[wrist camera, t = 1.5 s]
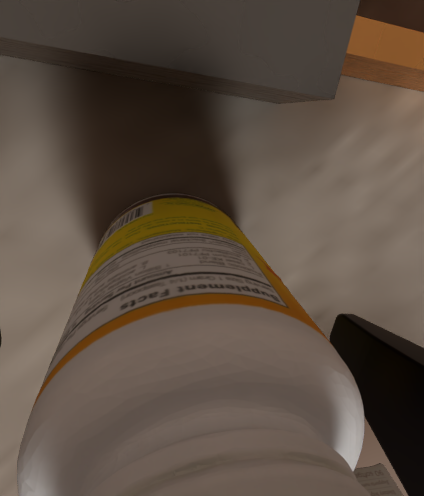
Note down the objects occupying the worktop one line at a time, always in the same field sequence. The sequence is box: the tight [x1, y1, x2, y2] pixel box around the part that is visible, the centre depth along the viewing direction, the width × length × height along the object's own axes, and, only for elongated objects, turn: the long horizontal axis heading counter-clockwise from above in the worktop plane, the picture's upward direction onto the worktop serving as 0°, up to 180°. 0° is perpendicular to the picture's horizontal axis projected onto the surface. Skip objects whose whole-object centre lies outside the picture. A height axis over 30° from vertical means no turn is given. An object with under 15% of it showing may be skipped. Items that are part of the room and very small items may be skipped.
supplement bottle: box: [17, 194, 371, 496], centre depth 7 cm, size 6×6×10 cm
